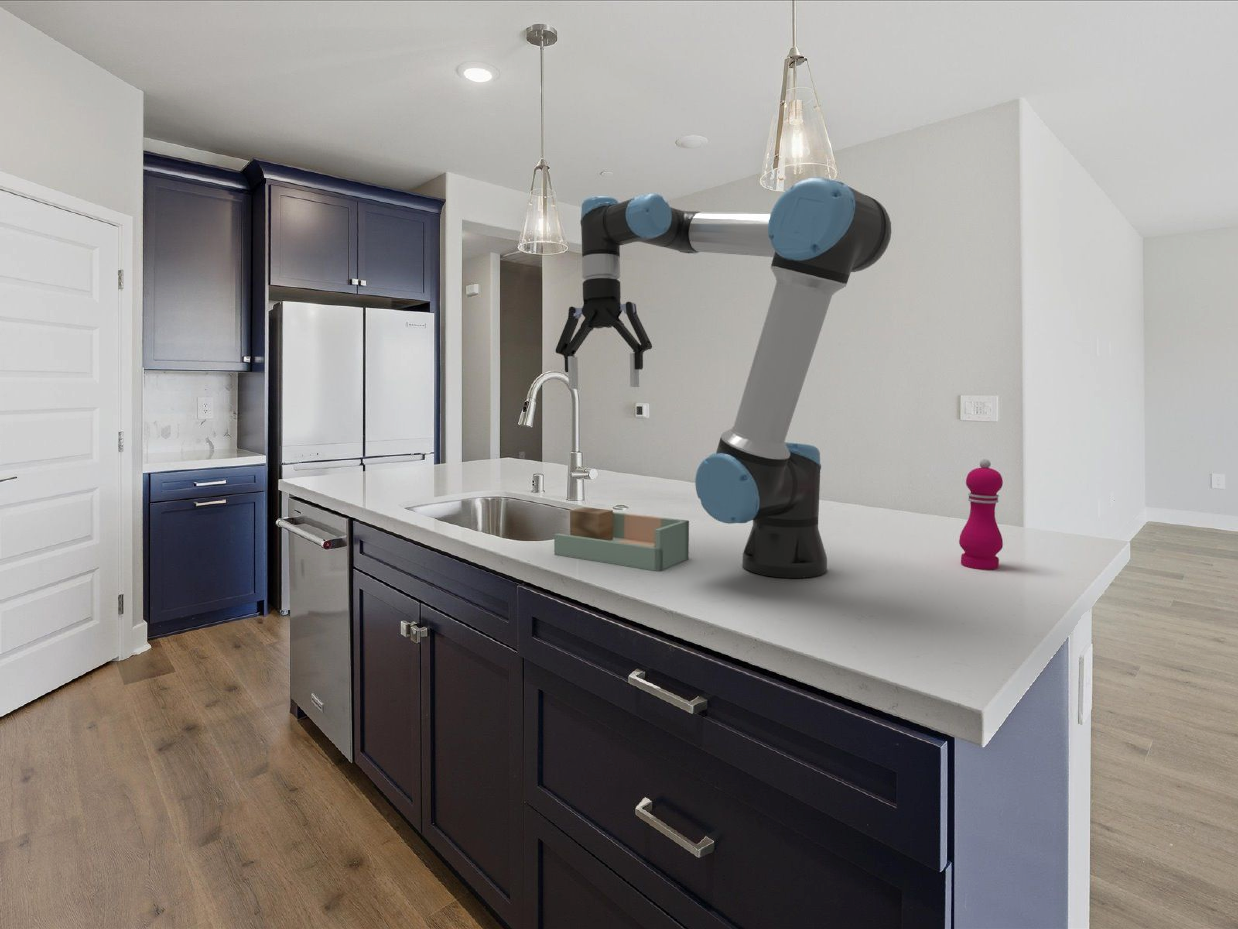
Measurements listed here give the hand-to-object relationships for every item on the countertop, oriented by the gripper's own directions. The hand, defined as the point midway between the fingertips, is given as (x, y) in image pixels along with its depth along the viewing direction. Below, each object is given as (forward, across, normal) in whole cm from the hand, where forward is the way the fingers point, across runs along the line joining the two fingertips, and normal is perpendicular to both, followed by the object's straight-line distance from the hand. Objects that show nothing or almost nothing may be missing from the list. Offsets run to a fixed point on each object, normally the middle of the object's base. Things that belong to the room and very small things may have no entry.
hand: (603, 388), depth 137 cm
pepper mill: (+35, -69, -18) cm, 79 cm away
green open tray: (+33, -5, +4) cm, 34 cm away
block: (+30, +2, +3) cm, 31 cm away
